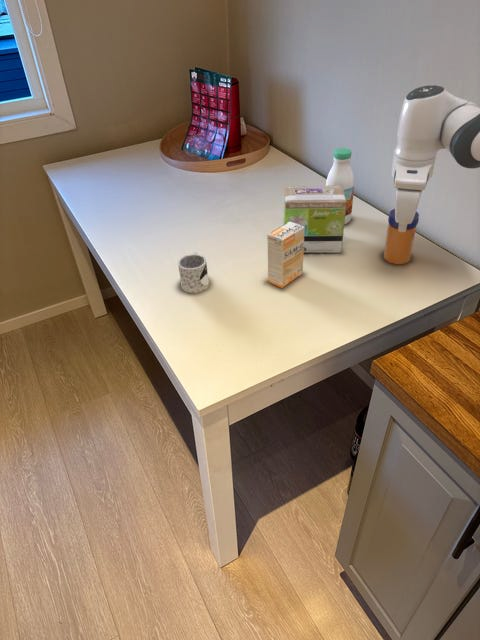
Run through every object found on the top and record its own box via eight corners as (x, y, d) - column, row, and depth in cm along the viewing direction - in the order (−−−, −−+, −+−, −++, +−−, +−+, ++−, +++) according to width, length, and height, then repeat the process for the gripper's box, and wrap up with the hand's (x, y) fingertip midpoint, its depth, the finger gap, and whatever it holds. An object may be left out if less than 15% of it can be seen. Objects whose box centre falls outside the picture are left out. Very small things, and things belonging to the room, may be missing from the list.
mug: (207, 292, 115) (205, 268, 111) (180, 293, 115) (176, 269, 111) (210, 269, 123) (208, 246, 119) (184, 270, 123) (181, 247, 119)
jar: (407, 250, 125) (414, 210, 117) (412, 264, 120) (420, 223, 112) (381, 250, 125) (387, 210, 118) (385, 264, 120) (392, 223, 113)
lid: (384, 225, 115) (385, 217, 114) (392, 213, 120) (393, 205, 118) (413, 231, 113) (415, 223, 111) (420, 218, 117) (422, 210, 116)
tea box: (283, 254, 126) (284, 202, 117) (283, 235, 134) (283, 185, 125) (342, 253, 125) (347, 200, 116) (338, 234, 133) (342, 183, 124)
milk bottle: (332, 228, 136) (337, 157, 124) (319, 217, 142) (322, 148, 129) (356, 222, 138) (363, 152, 125) (342, 211, 144) (347, 143, 131)
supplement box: (282, 289, 114) (283, 240, 106) (267, 282, 117) (266, 234, 109) (304, 274, 119) (305, 226, 111) (288, 267, 121) (289, 220, 113)
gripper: (401, 149, 116) (393, 202, 125) (394, 183, 101) (385, 242, 110) (429, 150, 114) (418, 205, 123) (426, 186, 99) (414, 245, 108)
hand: (403, 222), depth 116 cm, fingers closed on lid, 6 cm apart
